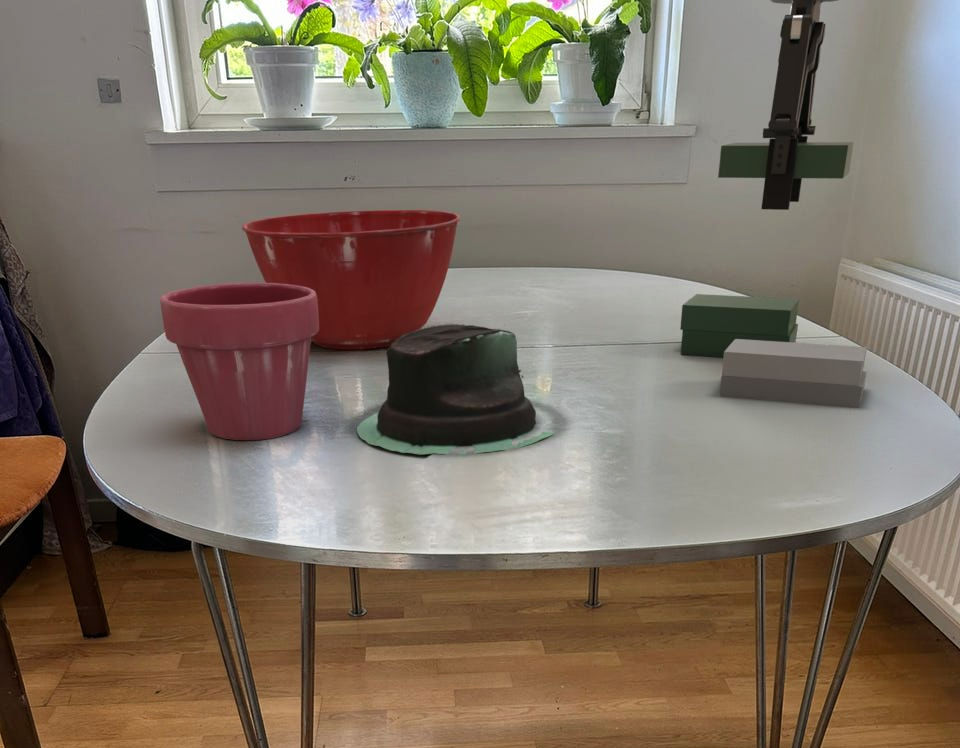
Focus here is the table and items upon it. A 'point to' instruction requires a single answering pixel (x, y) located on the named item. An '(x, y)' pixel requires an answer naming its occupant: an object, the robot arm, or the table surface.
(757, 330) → the green pile
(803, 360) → the grey pile
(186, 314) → the flower pot
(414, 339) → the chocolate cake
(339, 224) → the mixing bowl
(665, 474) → the table surface
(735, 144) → the green book
